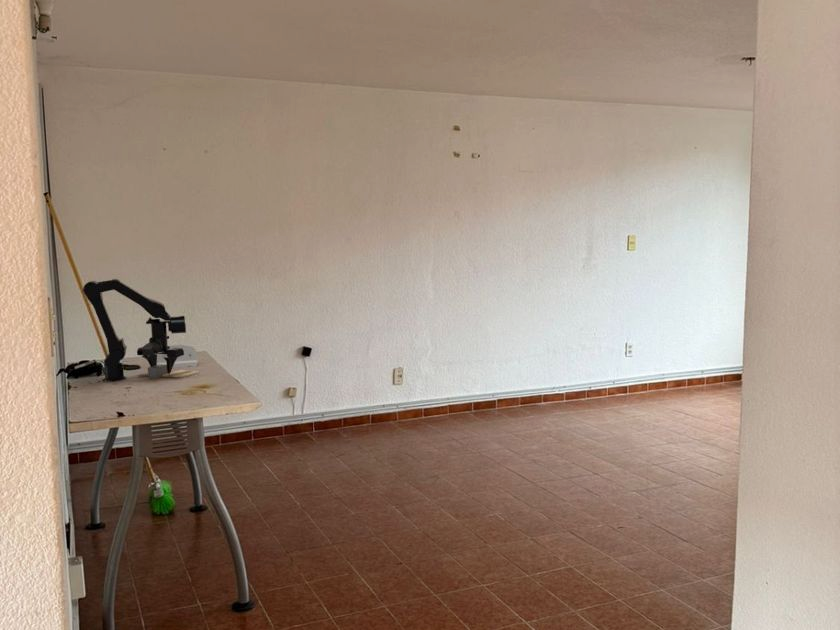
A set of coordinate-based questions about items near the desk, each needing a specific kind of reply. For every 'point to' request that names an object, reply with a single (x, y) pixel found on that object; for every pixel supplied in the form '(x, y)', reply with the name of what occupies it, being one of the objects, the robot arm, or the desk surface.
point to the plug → (157, 370)
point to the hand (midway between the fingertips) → (161, 373)
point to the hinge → (181, 357)
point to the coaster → (180, 373)
